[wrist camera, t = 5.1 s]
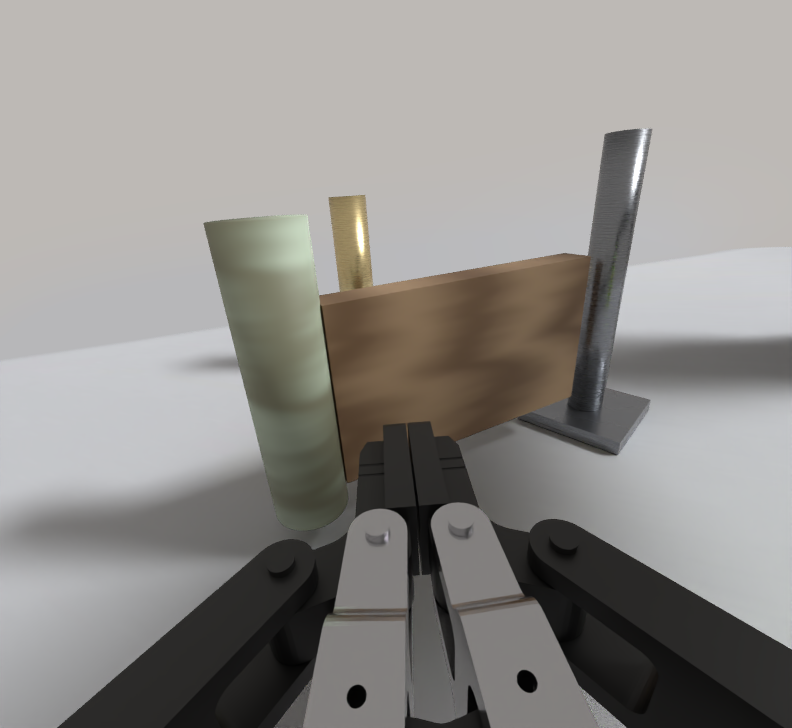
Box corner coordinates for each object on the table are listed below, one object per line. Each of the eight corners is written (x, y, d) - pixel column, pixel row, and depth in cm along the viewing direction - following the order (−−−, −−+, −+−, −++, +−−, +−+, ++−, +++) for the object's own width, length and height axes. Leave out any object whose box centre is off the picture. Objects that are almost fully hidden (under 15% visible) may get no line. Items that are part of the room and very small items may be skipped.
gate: (537, 395, 25) (558, 192, 20) (580, 417, 22) (616, 190, 17) (269, 493, 18) (201, 221, 13) (285, 542, 15) (206, 225, 10)
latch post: (366, 351, 38) (350, 196, 32) (395, 361, 35) (383, 193, 29) (333, 365, 35) (310, 198, 29) (362, 376, 32) (342, 196, 27)
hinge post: (557, 385, 29) (587, 142, 22) (647, 410, 25) (716, 125, 19) (517, 418, 25) (540, 138, 19) (617, 454, 21) (690, 115, 15)
